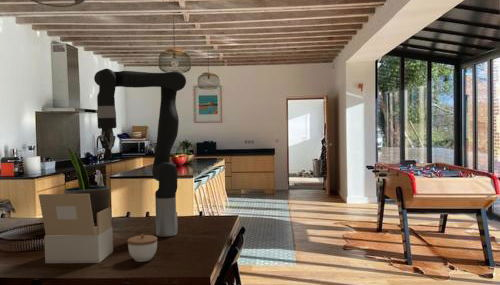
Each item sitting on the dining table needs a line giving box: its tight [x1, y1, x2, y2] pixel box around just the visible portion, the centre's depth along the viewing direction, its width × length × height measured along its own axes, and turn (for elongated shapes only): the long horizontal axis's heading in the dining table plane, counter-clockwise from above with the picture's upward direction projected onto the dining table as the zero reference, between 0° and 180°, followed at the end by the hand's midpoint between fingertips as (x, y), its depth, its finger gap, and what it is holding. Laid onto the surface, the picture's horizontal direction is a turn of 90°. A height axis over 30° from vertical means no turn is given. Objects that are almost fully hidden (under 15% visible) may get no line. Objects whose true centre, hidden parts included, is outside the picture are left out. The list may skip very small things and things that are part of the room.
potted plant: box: [63, 148, 111, 226], centre depth 215 cm, size 21×22×40 cm
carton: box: [43, 206, 114, 264], centre depth 161 cm, size 20×15×18 cm
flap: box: [38, 193, 95, 236], centre depth 151 cm, size 18×16×1 cm
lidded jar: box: [127, 233, 158, 263], centre depth 157 cm, size 11×11×9 cm
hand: (108, 158), depth 178 cm, fingers closed
